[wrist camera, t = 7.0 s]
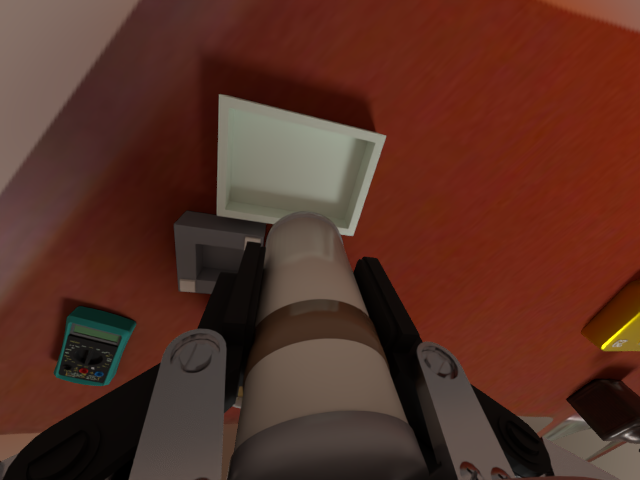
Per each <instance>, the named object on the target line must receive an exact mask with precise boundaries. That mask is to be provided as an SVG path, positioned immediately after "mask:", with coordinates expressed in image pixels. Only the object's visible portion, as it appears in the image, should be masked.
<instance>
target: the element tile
mask: <svg viewBox="0 0 640 480" xmlns="http://www.w3.org/2000/svg"><path fill="white" fill-rule="evenodd" d="M581 334H582V335H583V336H584V337H586V338H587V339H588V340H589V341H591V342H592V343H593V344H594V345H596V346H597V347H598V348H599V349H601V350H603V351H640V279H638V280H635V281H632V282H631V283H629V284H628V285H626V286H625V287H624V288H623V289H622V290H621V291H620V292H619V293H618V294H617V295H616V296H615V297H614V298H613V299H612V300H611V301H610V302H609V303H608V304H607V305H606V306H605V307H604V308H603V309H602V310H601V311H600V312H599V313H598V314H597V315H596V316H595V317H594V318H593V319H592V320H591V321H590V322H589V323H588V324H587V325H586V326H585V327H584V328H583V329H582V331H581Z"/></svg>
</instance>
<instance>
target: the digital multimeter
mask: <svg viewBox="0 0 640 480" xmlns="http://www.w3.org/2000/svg"><path fill="white" fill-rule="evenodd" d="M135 326H136V322H135V321H133V320H130V319H127V318H124V317H121V316H118V315H115V314H112V313H108V312H105V311H101V310H96V309H92V308H87V307H83V306H78V307H77V308H76V309H75V310H74V311H73V312H72V313H71V314H70V315H69V316H68V317H67V320H66V327H65V335H64V340H63V344H62V349H61V352H60V356H59V359H58V362H57V365H56V368H55V370H54V375H55V376H56V377H57V378H60V379H63V380H66V381H70V382H73V383H78V384H84V385H94V386H104V385H108V384H109V383H110V382H111V380H112V379H113V377H114V376H115V374H116V371H117V368H118V365H119V362H120V359H121V356H122V353H123V351H124V349H125V346H126V344H127V342H128V340H129V338H130V336H131V334H132V332H133V330H134V328H135ZM108 370H109V371H108Z"/></svg>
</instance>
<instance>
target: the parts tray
mask: <svg viewBox="0 0 640 480" xmlns="http://www.w3.org/2000/svg"><path fill="white" fill-rule="evenodd" d="M385 138H386V136H385V135H383V134H380V133H377V132H374V131H370V130H366V129H362V128H358V127H354V126H349V125H345V124H341V123H337V122H333V121H329V120H325V119H321V118H317V117H313V116H309V115H305V114H301V113H297V112H293V111H289V110H285V109H281V108H277V107H273V106H269V105H265V104H261V103H257V102H253V101H249V100H245V99H241V98H237V97H233V96H229V95H222V94H219V118H218V169H217V216H223V217H229V218H236V219H243V220H249V221H256V222H263V223H269V224H275V223H276V222H277V221H278V220H279V219H281V218H282V217H284V216H286V215H288V214H291V213H294V212H300V211H310V212H315V213H319V214H321V215H323V216H325V217H327V218H328V219H330V220H331V221H332V222H333V223H334V224H335V225H336V227H337V228H338V230H339V233H340V234H342V235H349V236H353V235H354V232H355V229H356V226H357V223H358V220H359V217H360V214H361V211H362V208H363V205H364V202H365V199H366V196H367V193H368V189H369V186H370V183H371V180H372V177H373V174H374V171H375V168H376V165H377V162H378V159H379V156H380V153H381V150H382V147H383V144H384V141H385Z"/></svg>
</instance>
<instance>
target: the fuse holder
mask: <svg viewBox="0 0 640 480" xmlns="http://www.w3.org/2000/svg"><path fill="white" fill-rule="evenodd" d="M265 230H266V223H263V222H256V221H249V220H243V219H236V218H229V217H223V216H217V215H212V214H206V213H199V212H192V211H186V212H185V213H184V214H183V215H182V216H181V217H180V218H179V219H178V220H177V221H176V222H175V223H174V235H175V249H176V262H177V275H178V288H179V291H184V292H195V293H207V294H212V291H213V289H214V286H215V284H216V281H217V279H218V276H219V274H220V272H229V273H238V271H239V267H240V264H241V260H242V257H243V254H244V250H245V247H246V244H247V241H250V242H258V243H261V247H263V245H264V238H265Z"/></svg>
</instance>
